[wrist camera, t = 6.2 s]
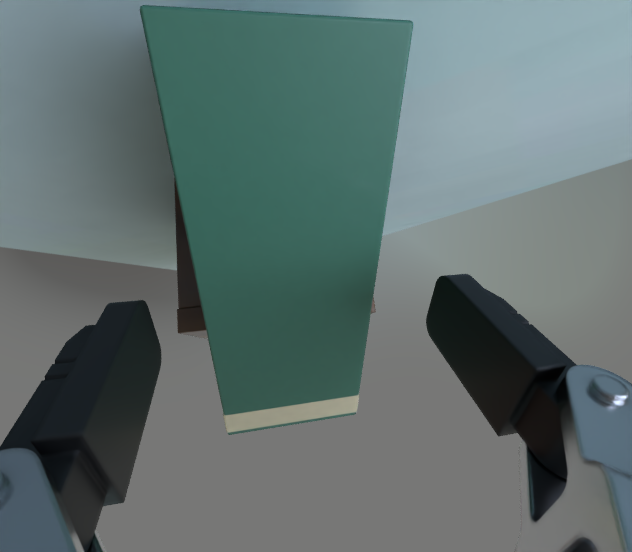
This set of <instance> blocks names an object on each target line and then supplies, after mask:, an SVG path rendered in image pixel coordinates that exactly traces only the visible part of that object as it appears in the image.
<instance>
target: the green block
mask: <svg viewBox="0 0 632 552" xmlns="http://www.w3.org/2000/svg"><path fill="white" fill-rule="evenodd" d="M140 13H141V18H142V23H143V28H144V33H145V37H146V42H147V47H148V52H149V57H150V61H151V66H152V71H153V76H154V81H155V85H156V90H157V95H158V100H159V105H160V110H161V114H162V119H163V124H164V129H165V134H166V138H167V143H168V148H169V153H170V158H171V162H172V167H173V172H174V177H175V182H176V187H177V191H178V196H179V201H180V206H181V211H182V215H183V220H184V225H185V230H186V235H187V239H188V244H189V249H190V254H191V259H192V264H193V268H194V273H195V278H196V283H197V288H198V292H199V297H200V302H201V307H202V312H203V316H204V321H205V326H206V331H207V336H208V340H209V345H210V350H211V355H212V360H213V364H214V369H215V374H216V378H217V384H218V389H219V393H220V398H221V403H222V407H223V416H224V421H225V425H226V431H227V432H228V434H229V435H232V434H237V433H244V432H250V431H256V430H262V429H268V428H275V427H280V426H287V425H292V424H299V423H305V422H312V421H317V420H324V419H330V418H336V417H342V416H348V415H354V414H356V412H357V407H358V401H359V388H360V381H361V374H362V368H363V361H364V355H365V348H366V341H367V334H368V327H369V320H370V314H371V307H372V300H373V294H374V287H375V280H376V273H377V266H378V260H379V253H380V246H381V239H382V233H383V226H384V219H385V212H386V206H387V199H388V192H389V185H390V178H391V172H392V165H393V158H394V151H395V145H396V138H397V131H398V124H399V117H400V111H401V104H402V97H403V90H404V84H405V77H406V70H407V63H408V56H409V50H410V43H411V36H412V29H413V22H412V21H410V20H392V19H375V18H358V17H340V16H323V15H305V14H288V13H271V12H253V11H236V10H219V9H201V8H184V7H167V6H149V5H143V6H141V7H140Z"/></svg>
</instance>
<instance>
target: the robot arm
mask: <svg viewBox="0 0 632 552" xmlns="http://www.w3.org/2000/svg"><path fill="white" fill-rule="evenodd" d="M426 324H427V330H428V333H429V336H430V337H431V339H432V340H433V342H434V343H435V345H436V346H437V348H438V349H439V351H440V352H441V354H442V355H443V356H444V358H445V359H446V361H447V362H448V364H449V365H450V367H451V368H452V370H453V371H454V372H455V374H456V375H457V377H458V378H459V380H460V381H461V383H462V384H463V386H464V387H465V388H466V390H467V391H468V393H469V394H470V396H471V397H472V398H473V400H474V401H475V403H476V404H477V406H478V407H479V409H480V410H481V412H482V413H483V415H484V416H485V417H486V419H487V420H488V422H489V423H490V425H491V426H492V428H493V429H494V431H495V432H496V433H497V435H498V436H503V435H508V434H514V433H518V434H519V435H520V437H521V438H522V439H523V441H522V442H521V444H520V447H519V474H520V507H521V508H520V509H521V528H520V535H519V539H518V542H517V545H516V548H515V552H632V384H631V383H630V382H628V381H627V380H625V379H623V378H622V377H620V376H618V375H616V374H614V373H612V372H610V371H608V370H605V369H602V368H599V367H595V366H590V365H576V364H575V363H574V362H573V361H572V360H571V359H569V358H568V357H567V356H566V355H565V354H564V353H563V352H562V351H561V350H559V349H558V348H557V347H556V346H555V345H554V344H553V343H552V342H551V341H549V340H548V339H547V338H546V337H545V336H544V335H543V334H542V333H541V332H539V331H538V330H537V329H536V328H535V327H534V326H533V325H529V323H528V321H527V320H526V319H525V318H524V317H523V316H522V315H520V314H517V311H516V310H515V309H514V308H513V307H512V306H511V305H509V304H508V303H507V302H506V301H505V300H504V299H502V298H501V297H499V296H497V295H495V294H493V293H491V292H490V291H488V290H486V289H484V288H483V287H482V286H481V285H480V284H479V283H478V282H477V281H476V280H475V279H473V278H472V277H471V276H470V275H468V274H459V275H447V276H441V277H439V279H438V280H437V281H436V285H435V288H434V292H433V296H432V299H431V303H430V307H429V310H428V314H427V319H426ZM160 366H161V348H160V343H159V340H158V337H157V334H156V331H155V328H154V325H153V321H152V318H151V315H150V312H149V309H148V306H147V304H146V302H145V301H143V300H139V301H127V302H115V303H109V304H108V305H107V306H106V308H105V309H104V311H103V313H102V315H101V317H100V318H99V320H98V322H97V324H96V325H89V326H85V327H84V328H83V329H81V330H80V331H79V332H78V333H77V334H75V335H74V336H73V337H72V338H71V339H69V340H68V341H67V342H66V343H65V345H64V347H63V348H62V350H61V351H60V353H59V355H58V356H57V358H56V359H55V364H52V366H51V367H50V369H49V370H48V372H47V374H46V375H45V380H44V381H41V383H40V385H39V386H38V388H37V389H36V391H35V392H34V394H33V396H32V398H31V399H30V400H29V402H28V404H27V405H26V407H25V408H24V410H23V411H22V413H21V415H20V416H19V418H18V419H17V421H16V423H15V424H14V426H13V427H12V429H11V430H10V432H9V434H8V435H7V437H6V438H5V440H4V442H3V443H2V445H1V446H0V552H106V549H105V547H104V545H103V542H102V540H101V538H100V536H99V534H98V532H97V530H96V525H97V522H98V520H99V516H100V513H101V510H102V507H103V506H106V505H112V504H118V503H123V502H124V500H125V497H126V493H127V489H128V486H129V482H130V478H131V475H132V471H133V467H134V463H135V459H136V456H137V452H138V449H139V445H140V441H141V437H142V433H143V430H144V426H145V422H146V419H147V415H148V412H149V408H150V404H151V400H152V397H153V393H154V389H155V386H156V381H157V378H158V375H159V371H160Z"/></svg>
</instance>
